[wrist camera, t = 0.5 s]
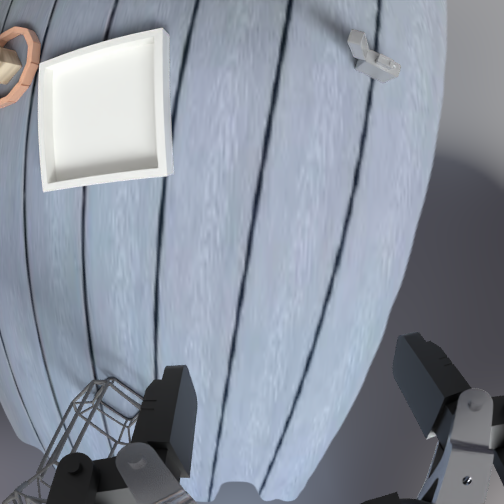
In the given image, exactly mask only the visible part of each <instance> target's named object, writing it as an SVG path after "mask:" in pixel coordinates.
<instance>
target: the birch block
mask: <svg viewBox="0 0 504 504" xmlns="http://www.w3.org/2000/svg"><path fill="white" fill-rule="evenodd" d="M21 67H22V65H21V62H20V60H19V58H18V56H17V53H16V51H14V50H10V49H6V48H2V47H0V84H8V82H9V81H10V80H11V79H12V78H13V76H14V75H15V74H16V73H17V72H18V70H19V69H20V68H21Z"/></svg>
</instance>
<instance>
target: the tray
mask: <svg viewBox="0 0 504 504" xmlns="http://www.w3.org/2000/svg"><path fill="white" fill-rule="evenodd" d="M38 133H39V153H40V166H41V177H42V186H43V192H48V191H53V190H60V189H66V188H72V187H79V186H86V185H93V184H101V183H108V182H116V181H125V180H134V179H143V178H153V177H163V176H169V175H173V174H174V163H173V147H172V128H171V104H170V35H169V34H168V33H167V32H166V31H165V30H164V29H163V28H159V29H153V30H148V31H144V32H139V33H135V34H130V35H126V36H122V37H118V38H114V39H111V40H107V41H104V42H100V43H97V44H93V45H90V46H87V47H84V48H81V49H78V50H75V51H72V52H69V53H66V54H63V55H60V56H58V57H55V58H53V59H50V60H47V61H45V62H42V63H40V64H39V83H38Z"/></svg>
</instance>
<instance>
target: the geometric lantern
mask: <svg viewBox="0 0 504 504" xmlns="http://www.w3.org/2000/svg"><path fill="white" fill-rule="evenodd" d="M110 380H112V382H110ZM114 381H116V382H117V383H119V384H120V385H122V386H123V387H124V388H126V389H127V390H129V391H130V392H132V393H133V394H134V395H136V396H137V397H139V398H140V399H142V400H143V398H142V397H141V396H139V395H138V394H136V393H135V392H134V391H132V390H131V389H129V388H128V387H126V386H125V385H124V384H122V383H121V382H119V381H118V380H117V379H115V378H108V380H92V381H91V382H90V383H89V384H88V385H87V386H86V387H85V388H84V389H83V390H82V391H81V392H80V393H79V394H78V395H77V396H76V397H75V398H74V399H73V401H72V402H71V403H70V405H69V407H68V409H67V411H66V413H65V415H64V417H63V419H62V421H61V423H60V424H59V426H58V428H57V430H56V432H55V434H54V436H53V438H52V440H51V442H50V444H49V447H48V449H47V451H46V453H45V455H44V457H43V459H42V461H41V464H40V466H39V468H38V470H37V472H36V475H35V476H33V477H32V478H31V479H29V480H28V481H25V482H24V483H22V484H21V485H20V486H18V488H17V489H15V490H14V492H13V493H12V494H11V495H10V496H8V497H7V498H6V499H5V500H4V501H3V502H2V504H8V503H9V502H10V501H11V500H12V501H13V503H14V504H17V502H16V499H17V500H18V503H19V504H23V502H22V499H21V496H20V495H22V496H24V497H25V501H26V504H30V502H32V503H34V504H42V503H46V502H47V500H46V499H41V494H40V486H39V479H40V480H41V482H42V483H43V484H45V485H46V486H48V487H49V488H51V486H50V485H48V484H47V483H45V482H44V481H42V479H43V477H44V475H45V473H46V471H47V470H48V468H49V467H50V466H51V465H53V464H55V465H57V466H58V464H59V462H57V459H58V457H59V455H60V453H61V451H62V449H63V446H64V444H65V442H66V440H67V438H68V436H69V434H70V432H71V430H72V427H73V425H74V423H75V421H76V419H77V417H78V416H80V417H81V418H82V419H84V420H85V421H86V423H85V425H84V427H83V429H82V431H81V433H80V435H79V437H78V439H77V441H76V443H75V445H74V447H73V449H72V451H71V453H75V452H76V450H77V448H78V446H79V444H80V442H81V440H82V438H83V436H84V433H85V431H86V429H87V427H88V425H89V424H90V425H91V426H93V427H94V428H95V429H97V430H98V431H100V432H101V433H102V434H104V435H105V436H107V437H108V438H109V439H111V440H112V441H114V442H115V444H114V446H113V448H112V450H111V452H110V454H109V456H108V458H111V457H112V455H113V453H114V450H115V448H116V446H117V444H121V445H128V444H130V443H131V438H130V429H129V428H130V427H131V426H132V425H133V424H134V423H135V422H136V421H137V418H138V415H139V413H138V414H137V415H136V416H135V417H134V418H133V419H127V418H125V417H124V416H122V415H121V414H119V413H118V412H116V411H115V410H113V409H112V408H110V407H109V406H107V405H106V404H105V403H103V402H102V401H101V399H102V398H103V396H104V394H105V392H106V390H107V388H108V386H111V387H112V388H113V389H114V390H115V391H117V392H118V393H119V394H120V395H122V396H123V397H124V398H125V399H127V400H128V401H129V402H130V403H132V404H133V405H134V406H135V407H137V408H138V409H139V410H141V409H140V408H141V405H140V404H138V403H137V402H135V401H134V400H133V399H131V398H130V397H128V396H127V395H125V394H124V393H123V392H122V391H120V390H119V389H118V388H117V387H116V386H114V385H113V383H114ZM94 384H99V385H103V386H102V387H101V388H100V390H99V391H98V392H97V393H96V395H95V397H94V399H93V401H87V402H85V401H86V399H87V397H88V395H89V394H90V391H91V389H92V387H93V385H94ZM86 391H87V392H86ZM85 392H86V394H85V396H84V397H83V399H82V401H81V402H76V401H77V400H78V399H79V398H80V397H81V396H82V395H83V394H84V393H85ZM99 395H100V396H99ZM98 396H99V398H98ZM96 399H97V401H96V403H95V405H94V402H95V400H96ZM87 403H92V405H93V406H91V407H89V408H88V409H86V410H84V411H82V412H80V411H81V409H82V407H83V405H84V404H87ZM99 403H101V404H103V405H104V406H106V407H107V408H109V409H110V410H112V411H113V412H115V413H116V414H118V415H119V416H121V417H122V418H124V419H125V420H126V421H125V423H124V425H123V424H122V423H120V422H118V421H117V420H115V419H114V418H112V417H111V416H109V415H108V414H106V413H105V412H103V411H102V410H100V409H99V408H97V407H98V405H99ZM75 404H80V405H79V407H78V409H77V408H76V405H75ZM72 406H73V407H74V410H75V412H76V413H75V415H74V417H73V419H72V421H71V423H70V425H69V426H68V428H67V430H66V431H65V433H64V435H63V436H62V438H61V440H60V442H59V443H58V445H57V447H56V448H55V450H54V452H53V454H52V455H51V457H50V459H49V461H48V463H47V464H46V466H45V467H44V468H43V469H42V467H43V465H44V463H45V461H46V459H47V457H48V455H49V453H50V450H51V448H52V446H53V444H54V442H55V440H56V438H57V436H58V434H59V432H60V430H61V428H62V426H63V424H64V422H65V420H66V418H67V416H68V414H69V412H70V410H71V408H72ZM92 408H93V409H92ZM90 409H92V411H91V413H90V415H89V417H88V419H86V418H85V417H84V416H83V415H81V414H83V413H85V412H86V411H88V410H90ZM96 409H97V410H98V411H100V412H101V413H103V414H104V415H106V416H107V417H109V418H110V419H112V420H114V421H115V422H117V423H118V424H120V425H122V426H123V428H122V431H121V434H120V436H119V439H118V441H117V440H115V439H114V438H112V437H111V436H110V435H108V434H107V433H105V432H104V431H103V430H101V429H100V428H98V427H97V426H96V425H94V424H93V423H92V422H90V421H91V419H92V417H93V415H94V413H95V411H96ZM136 417H137V418H136ZM135 418H136V419H135ZM134 419H135V420H134ZM133 420H134V421H133ZM128 421H130V424H129V426H126V423H127V422H128ZM132 421H133V422H132ZM125 427H126V428H128V437H129V443H124V442H120V439H121V437H122V434H123V431H124V429H125ZM40 474H41V475H40ZM36 478H37V482H38V483H37V484H38V492H39V498H37V497H32V496H27V495H25V494H23V493H21V492H22V490H23V489H24V488H26V487H27V486H28V485H29V484H30V483H31V482H33V481H34V480H35V479H36ZM39 502H40V503H39Z"/></svg>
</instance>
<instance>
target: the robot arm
mask: <svg viewBox="0 0 504 504" xmlns="http://www.w3.org/2000/svg"><path fill="white" fill-rule="evenodd" d="M393 375H394V378H395V380H396V382H397V384H398V386H399V388H400V390H401V392H402V393H403V395H404V397H405V399H406V401H407V403H408V405H409V407H410V408H411V410H412V412H413V414H414V416H415V418H416V420H417V422H418V424H419V426H420V428H421V429H422V432H423V434H424V436H425V437H426V439H429V438H432V437H434V436H437V438H438V440H439V441H438V443H437V445H436V449H435V452H434V456H433V459H432V462H431V465H430V468H429V472H428V474H427V477H426V480H425V483H424V485H423V487H422V489H421V491H420V493H419V495H418V497H417V499H410V498H403V499H399V497H398V494H397V492H395V493H392V494H389V495H385V496H382V497H379V498H376V499H372V500H368V501H365V502H363V503H361V504H484V503H485V500H486V495H487V491H488V486H489V481H490V476H491V470H492V464H494V466H495V468H496V471H497V473H498V475H499V477H500V479H501V481H502V483H503V485H504V396H497V397H491V396H490V395H489V394H488V393H487V392H485V391H483V390H481V389H476V388H475V389H472V388H471V387H470V386H469V384H468V383H467V381H466V380H465V379H464V377H463V376H462V375H461V373H460V372H459V371H458V369H457V368H456V367H455V366H454V364H452V362H451V360H450V359H449V358H447V355H446V354H445V353H444V351H443V350H442V349H441V348H440V347H439V346H437V345H436V344H434V343H432V342H431V341H429V342H426V341H425V340H424V338H423V337H422V336H421V335H420V333H418V332H412V333H408V334H404V335H400V336H399V337H398V340H397V345H396V351H395V356H394V361H393ZM140 409H141V411H140V412H139V415H138V418H137V422H136V426H135V429H134V433H133V436H132V440H131V443H130V444H128V445H126V446H124V447H123V448H122V449H121V450H120V451H119V452H118V453H117V456H115V457H111V458H106V459H100V460H94V461H92V460H91V459H90V458H89V457H88V456H87V455H85V454H83V453H78V452H76V453H70V454H68V455H66V456H65V457H63V458H62V459H61V460H60V462H59V464H58V466H57V469H56V473H55V476H54V479H53V482H52V485H51V489H50V492H49V495H48V499H47V502H46V504H197V503H196V502H195V501H194V499H193V498H192V497H191V496H190V495H189V494H188V493H187V492H186V491H185V490H184V489H183V487H182V486H181V485H180V477H181V478H190V469H191V459H192V450H193V441H194V432H195V423H196V414H197V397H196V392H195V389H194V386H193V383H192V380H191V377H190V374H189V370H188V368H187V366H186V365H177V366H166V367H165V370H164V374H163V377H162V380H153V382H152V383H151V384H150V385H149V386H148V388H147V389H146V391H145V395H144V398H143V402H142V405H141V408H140Z"/></svg>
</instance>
